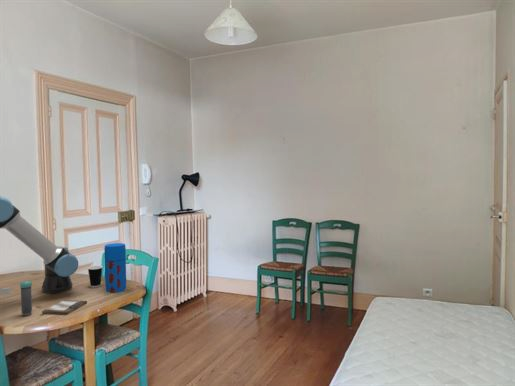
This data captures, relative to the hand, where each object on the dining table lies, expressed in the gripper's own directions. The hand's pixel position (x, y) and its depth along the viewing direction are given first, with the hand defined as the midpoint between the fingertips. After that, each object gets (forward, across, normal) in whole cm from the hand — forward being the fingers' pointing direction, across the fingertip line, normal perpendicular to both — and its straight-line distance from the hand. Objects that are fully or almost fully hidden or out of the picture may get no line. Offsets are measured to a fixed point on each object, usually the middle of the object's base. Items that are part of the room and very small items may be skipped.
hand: (3, 295), depth 171 cm
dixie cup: (+31, -41, -10) cm, 52 cm away
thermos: (+43, -31, -10) cm, 54 cm away
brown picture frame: (+24, -5, -10) cm, 26 cm away
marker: (+9, 0, -10) cm, 13 cm away
